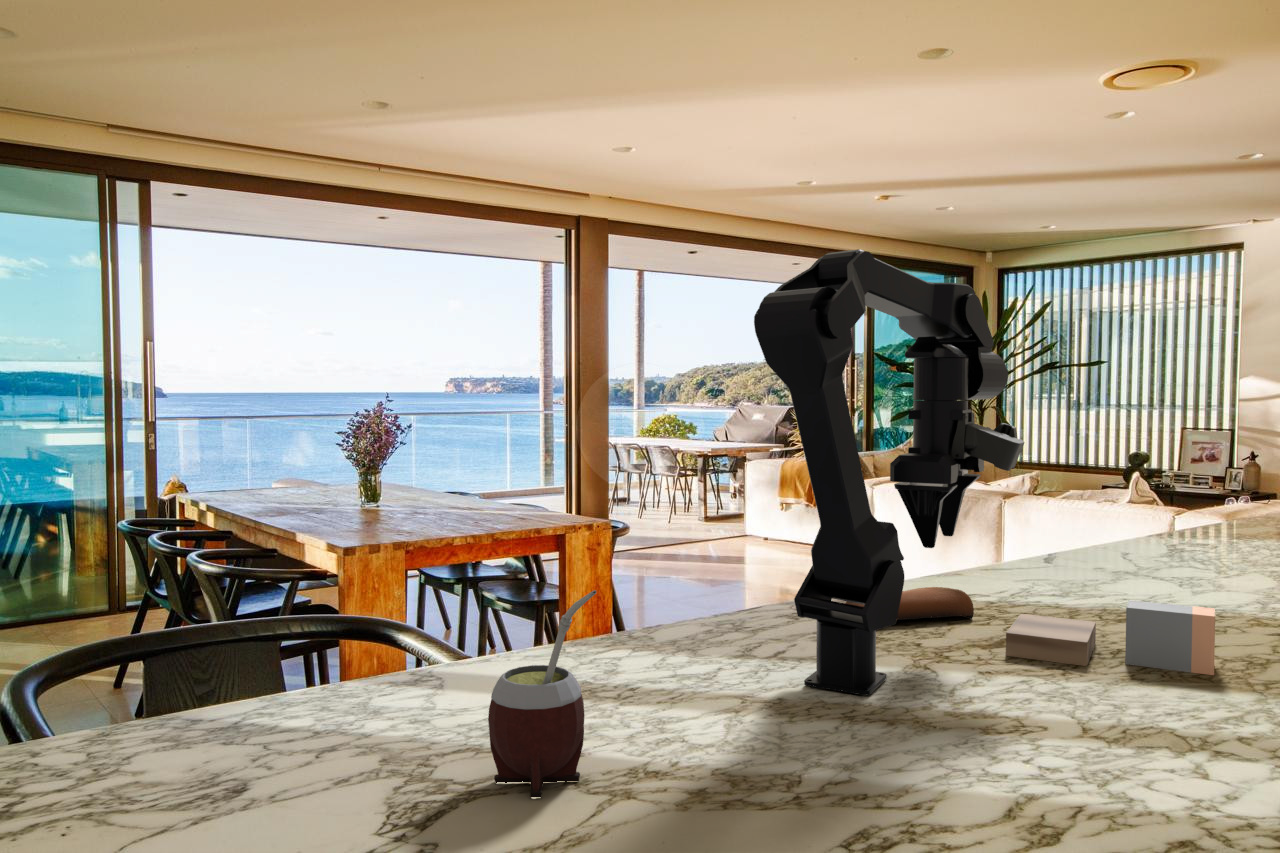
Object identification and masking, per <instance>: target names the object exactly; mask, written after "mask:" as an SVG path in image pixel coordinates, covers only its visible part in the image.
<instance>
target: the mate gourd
mask: <svg viewBox="0 0 1280 853" xmlns="http://www.w3.org/2000/svg"><path fill="white" fill-rule="evenodd" d="M596 594H597V590H596V589H595V590H592V591H591V592H589V593H587V594H586V595H584V596H582V597H581V598H579V600H577V601H575V602H574V603H573V604H572V605H570V607H569V608H568V610H567V611H566V612H565V614H563V615H562V616H561V618H560V620H559V623H558V626H557V629H558V630H557V635H556V639H555V643H554V645H553V649H552V653H551V656H550V658H549V659H550V660H549V662H548V665H547V664H535V665H534V664H532V665H525V666H524V665H523V666H517V667H515V668H511V669H509V670H507V671H506V672H504V673H502V674H501V675H500V677H499V678H498V680H497V681H496V683H495V685H494V687H493V688H492V691H491V698H490V703H489V709H488V732H489V733H488V734H489V743H490V751H491V754H492V757H493V761H494V764H495V767H496V771H497V774H494V776H493V779H494V783H495V782H496V783H497V782H505V783H507V782H522V781H523V782H531V785H530V789H529V794H530V796H529V798H530V797H541V794H542V795H543V787H542V785H543V786H544V784H543V782H557V781H565V782H567V781H579V782H580V777H581V772H579V771H577V770H578V769H577V768H578V765H579V761H580V758H581V754H582V750H583V746H584V737H585V736H584V735H585V705H584V698H583V694H582V688H581V685H580V683H579V682H578V680H577V679H576V677H575V676H574V675H573V673H572V672H571V671H569V670H568V669H567V668H564V667H562V666H561V667H560V666H557V664H558V662H559V661H558V660H559V657H560V655H561V654H560V653H561V650H562V647H563V644H564V641H565V638H566V637H565V636H566V635H567V634H566V633H567V632H568V631H569V630H570V627H571V624H572V621H573V619H572V618H573V616H574V615H575V614H576V612H577V611H579V609H580V608H581V607H583V605H585V604H586V603H587V602H588V601H589V600H591V598H592V597H594V596H595V595H596ZM541 798H542V797H541Z"/></svg>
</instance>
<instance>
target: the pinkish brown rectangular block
mask: <svg viewBox="0 0 1280 853" xmlns="http://www.w3.org/2000/svg"><path fill="white" fill-rule="evenodd" d="M1096 627H1097V622H1096V621H1090V620H1081V619H1074V618H1073V619H1072V618H1065V617H1064V618H1063V617H1054V616H1045V615H1035V614H1029V613H1027V614H1026V613H1020V614H1019V615H1018V617H1017V618H1016V619H1015V620H1014V622H1013V623H1012V624H1011V626H1010V627H1009V628H1008V629H1007V631H1006V632H1005V656H1008V657H1014V658H1021V659H1027V660H1028V659H1030V660H1036V661H1037V660H1038V661H1045V662H1051V663H1060V664H1067V665H1076V666H1083V667H1087V666H1088V664H1089V662H1090V659H1091V657H1092V654H1093V652H1092V651H1094V649H1095V646H1096V640H1097V639H1096V633H1097V628H1096Z"/></svg>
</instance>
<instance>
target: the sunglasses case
mask: <svg viewBox="0 0 1280 853" xmlns="http://www.w3.org/2000/svg"><path fill="white" fill-rule="evenodd" d="M844 603H845V604H850V605H856V606H861V607H864V605H863V604H858V603H853V602H848V601H845V602H844ZM974 611H975V608H974V603H973V600H972V599H971V597H970V595H968V593H967V592H966V591H964V590H961V589H958V588H950V587H942V586H941V587H939V586H930V587H928V586H927V587H917V588H912V589H907V590H903V591H902V596H901V601H900V606H899V611H898V616H897V621H898V620H899V621H903V620H918V619H923V618H924V619H925V618H930V619H935V618H945V617H946V618H948V617H963V618H966V617H967V618H966V619H969V620H973V618H974V613H975V612H974Z"/></svg>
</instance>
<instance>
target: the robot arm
mask: <svg viewBox="0 0 1280 853" xmlns="http://www.w3.org/2000/svg"><path fill="white" fill-rule="evenodd" d="M866 307H868V308H871V309H873V310H876V311H879V312H881V313H884V314H886V315H889V316H891V317H893V318H895V319H897V320H898V327H899V329H900V330H902V331H903V332H905V333H906V334H907V335H908V336H910V337H911V338H913V339H914V340H915V342H914V343H913V344H912V345H911V346H910V347H908V348H907V350H906V351H905V353H904V357H905V359H913V409H908V420H913V422H912V424H913V428H912V430H913V432H912V433H913V434H912V435H913V436H912V440H913V441H912V446H910V447H908V450H907V451H908V452H907V453H903V454H899V455H898V456H897V457H895V458H894V460H893V461H891V462H890V463H889V467H890V468H889V474H890V475H889V482H893V483H894V484H893V485H894V489H895V490H897V492H898V494H899V497H900V498H901V500H902V502H903V505H904V507H905V508H906V510H907V513H908V515H909V517H910V519H911V521H912V524H913V525H914V528H915V531H916V534H917V535H918V537H919V540H920V542H921V544H922V547H923V548H925V549H934V548H935V547H936V542H937V538H938V532H939V527H940V530H941V533H942V535H943V536H944V537H953V536H954V535H955V532H956V526H957V523H958V519H959V516H960V512H961V508H962V505H963V501H964V496H965V493H966V490H967V489H968V488H969V487H970V486H971V485H972V484H974V482H976V481H977V480H978V479H979V478H981V474H978V473H981V472H984V470H985V462H988V463H989V464H992V465H994V467H995V468H997V469H1000V470H1003V471H1005V472H1006V471H1007V472H1009V471H1011V470H1014V469H1015V467H1016V464H1017V463H1018V459H1019V457H1020V455H1021V453H1022V452H1023V448H1024V444H1025V441H1024V439H1021V438H1018V431H1017V427H1016V426H1013V425H1011V424H1008V423H1005V422H1002V423H999V425H998V426H996V427H995V428H994V429H992V428H991V427H988V426H983V425H980V424H977V423H975V412H973V410H972V409H969V407H968V406H969V404H968V403H969V400H971V401H972V400H973V401H974V400H975V401H976V400H989V399H990V400H991V399H993V398H996V397H997V396H999V395H1000V394H1001V393H1002V392H1003V391H1004V389H1005V388H1006V386H1007V384H1008V380H1009V370H1008V369H1007V365H1006V363H1005V361H1004V360H1003V358H1002V357H1001V356H1000V355H999V354H997V353H995V352H993V350H992V349H993V347H994V346H995V344H994V339H993V336H992V333H991V330H990V327H989V323H988V321H987V318H986V315H985V312H984V308H983V306H982V302H981V300H980V298H979V296H978V295H977V294H976V291H975V290H974V288H972V286H970V285H969V284H966V283H958V282H931V281H927V280H923V279H921V278H919V277H917V276H915V275H913V274H910V273H908V272H906V271H905V270H902V269H900V268H898V267H896V266H893V265H891V264H888V263H886V262H884V261H882V260H880V259H878V258H875V257H874V255H873V253H871V252H870V251H865V250H864V249H860V248H858V249H850V250H849V249H848V250H843V251H836V252H835V251H834V252H828V253H826V254H823V256H821V257H819V258H818V259H817V260H816V261H815V262H814V263H813V264H812V265H811V266H810V267H809V268H807V269H805V270H804V271H802V272H801V273H799V274H797V275H796V276H794V277H792V278H791V279H789V280H788V281H785V282H783V284H780V285H779V286H778V287H777V288H776V289H775V290H774V291H772V292H769V293H767V295H765V296H764V297H763V299H762V301H761V302H760V304H759V306H758V309H757V311H756V312H755V314H754V317H753V318H754V319H753V326H754V332H755V336H756V339H757V341H758V343H759V344H758V345H759V346H760V349H761V352H762V355H763V357H764V360H765V362H766V364H767V365H768V367H769V368H770V369H771V371H773V373H774V374H775V375H776V376H777V377H778V378H779V380H780V381H782V383H783V384H784V385H785V386H786V387H787V388H788V391H789V394H790V397H791V401H792V402H791V403H792V406H793V410H794V416H795V419H796V420H795V421H796V423H797V428H798V432H799V436H800V440H801V444H802V445H801V446H802V449H803V453H804V458H805V463H806V466H807V470H808V475H809V479H810V480H809V481H810V483H811V489H812V492H813V498H814V500H815V505H816V511H817V513H818V518H819V524H820V526H819V529H818V531H817V535H816V536H815V539H814V541H813V544H812V546H811V550H810V554H811V564H812V566H811V567H810V569H809V571H808V573H807V574H806V576H805V578H804V580H803V582H802V583H801V585H800V587H799V589H798V591H797V593H796V594H795V595H794V596H795V597H794V599H793V600H794V605H795V609H796V613H797V614H796V615H797V617H799V618H802V619H803V618H807V619H811V620H816V669H815V671H814V672H813V673H812V674H810V675H809V676H807V677H806V678H805V679H804V681H803V682H804V686H807V687H812V688H813V687H814V688H819V689H826V690H830V691H838V692H843V693H850V694H856V695H862V696H869V695H871V694H872V693H873V692H874V691H875V690H876V689H877V688H879V687H880V686H881V684H883V683H884V682H885V680H887V676H888V674H887V673H886V672H881V671H880V672H879V671H877V669H876V668H877V666H876V665H877V664H876V663H877V661H876V659H877V658H876V656H877V631H878V630H881V629H885V628H888V627H891V626H895V625H896V624H897V621H898V619H897V616H898V611H899V606H900V601H901V596H902V591H904V590H903V589H904V585H905V570H904V568H903V563H902V561H904V560H905V557H904V555H903V553H902V551H901V548H900V542H899V536H898V530H897V528H896V526H895V524H894V523H893V522H888V521H887V522H886V521H881V520H880V521H878V520H877V519H876V517H874V515H873V514H872V511H871V507H870V502H869V501H870V500H869V496H868V491H867V486H866V482H865V479H864V478H865V477H864V474H863V469H862V463H861V459H860V454H859V451H858V445H857V442H856V436H855V432H854V427H853V421H852V418H851V412H850V408H849V404H848V399H847V394H846V390H845V386H844V380H843V373H844V371H845V369H846V365H847V363H848V360H849V358H850V355H851V352H852V350H853V346H854V345H853V344H854V342H853V333H852V328H853V327H854V326H855V325H856V324H857V323H858V322H859V320H860V319H861V317H863V316H864V315H865V313H866V312H867V311H866V310H867V308H866ZM969 471H973V472H974V473H969ZM976 473H977V474H976ZM832 599H833V600H832ZM835 600H838V601H835ZM840 601H843V602H840ZM846 601H848V602H853V603H858V604H863V605H864V607H861V606H856V605H850V604H845V603H846Z"/></svg>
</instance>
